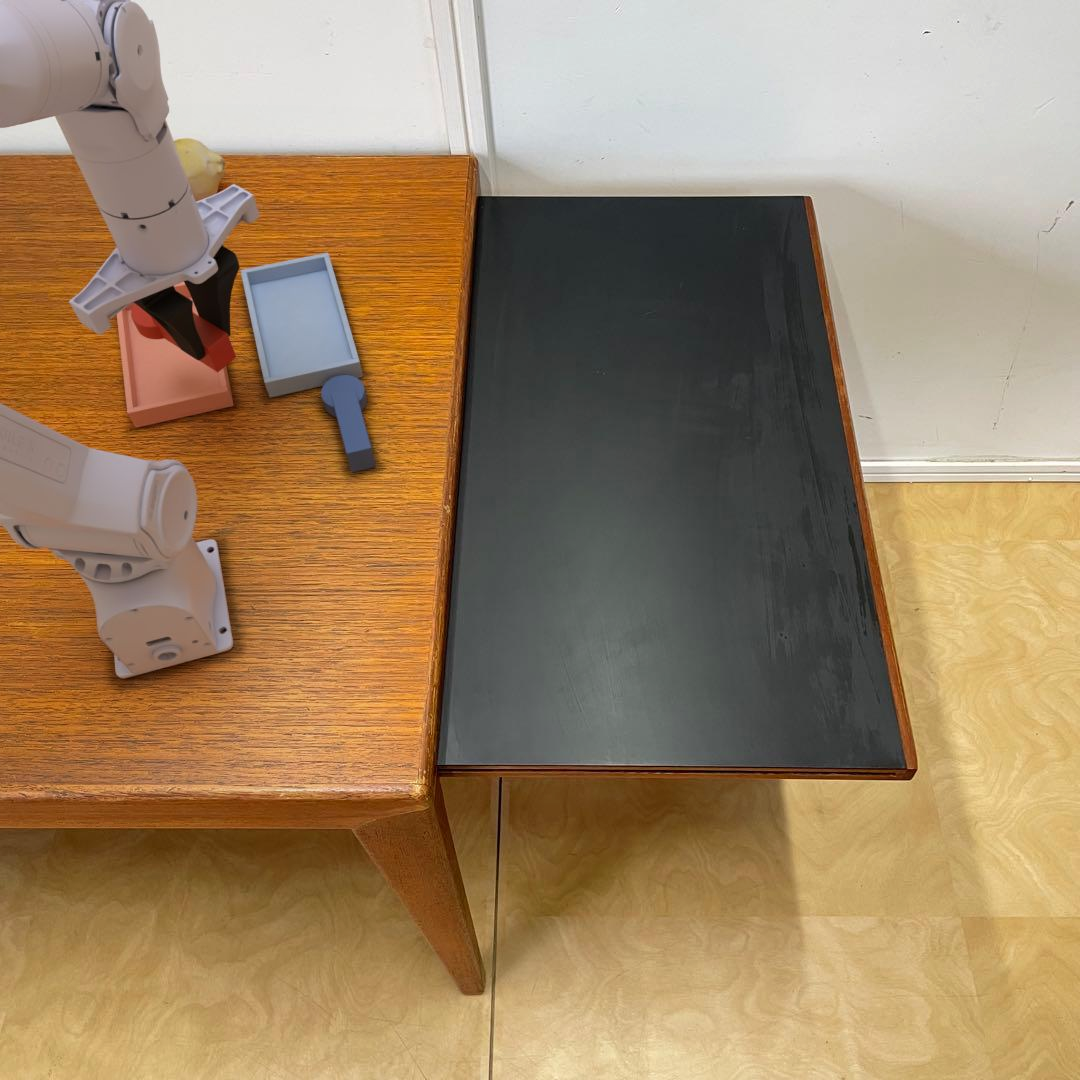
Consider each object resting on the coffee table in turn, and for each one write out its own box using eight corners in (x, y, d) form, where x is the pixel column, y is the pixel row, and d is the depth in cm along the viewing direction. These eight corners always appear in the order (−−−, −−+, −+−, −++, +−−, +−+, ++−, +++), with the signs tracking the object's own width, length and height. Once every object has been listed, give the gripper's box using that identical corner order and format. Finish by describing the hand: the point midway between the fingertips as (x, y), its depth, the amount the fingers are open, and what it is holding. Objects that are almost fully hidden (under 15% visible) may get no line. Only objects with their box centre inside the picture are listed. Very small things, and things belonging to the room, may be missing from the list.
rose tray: (233, 406, 77) (227, 391, 75) (135, 428, 75) (127, 413, 74) (212, 292, 84) (206, 276, 82) (122, 310, 82) (114, 294, 81)
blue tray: (363, 377, 79) (359, 361, 77) (269, 398, 77) (264, 382, 76) (331, 268, 86) (328, 252, 84) (245, 285, 84) (240, 269, 83)
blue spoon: (385, 464, 74) (381, 445, 72) (341, 475, 73) (336, 456, 71) (362, 381, 78) (357, 360, 76) (320, 391, 78) (314, 370, 76)
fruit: (133, 183, 92) (229, 154, 92) (145, 234, 90) (243, 205, 91) (104, 146, 86) (206, 115, 86) (116, 200, 85) (221, 168, 85)
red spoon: (244, 351, 71) (235, 326, 68) (210, 379, 69) (199, 355, 67) (162, 300, 73) (151, 275, 71) (127, 326, 72) (114, 301, 70)
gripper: (92, 281, 53) (169, 427, 65) (270, 155, 60) (311, 309, 71) (14, 232, 55) (102, 382, 67) (194, 115, 62) (246, 271, 73)
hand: (205, 342), depth 69 cm, fingers closed on red spoon, 2 cm apart
